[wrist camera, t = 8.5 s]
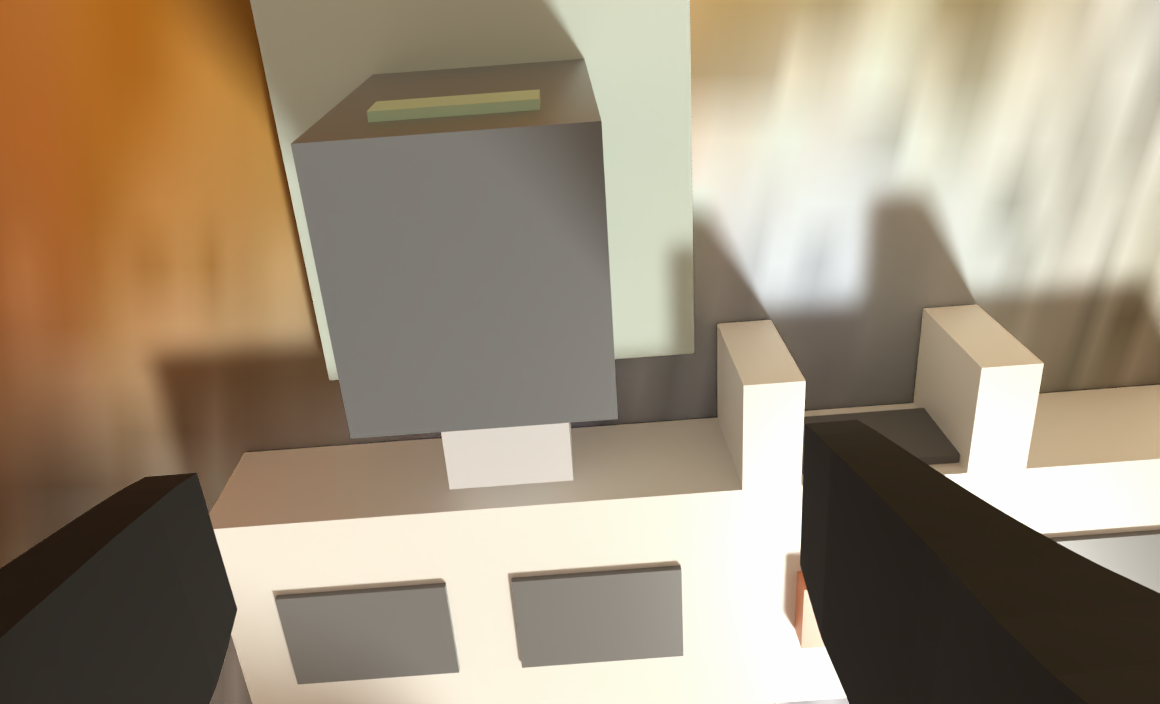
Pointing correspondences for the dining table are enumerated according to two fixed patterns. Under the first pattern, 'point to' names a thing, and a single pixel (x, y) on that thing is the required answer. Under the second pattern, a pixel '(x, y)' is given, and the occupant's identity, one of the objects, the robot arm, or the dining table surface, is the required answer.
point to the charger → (467, 262)
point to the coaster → (514, 36)
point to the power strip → (648, 536)
